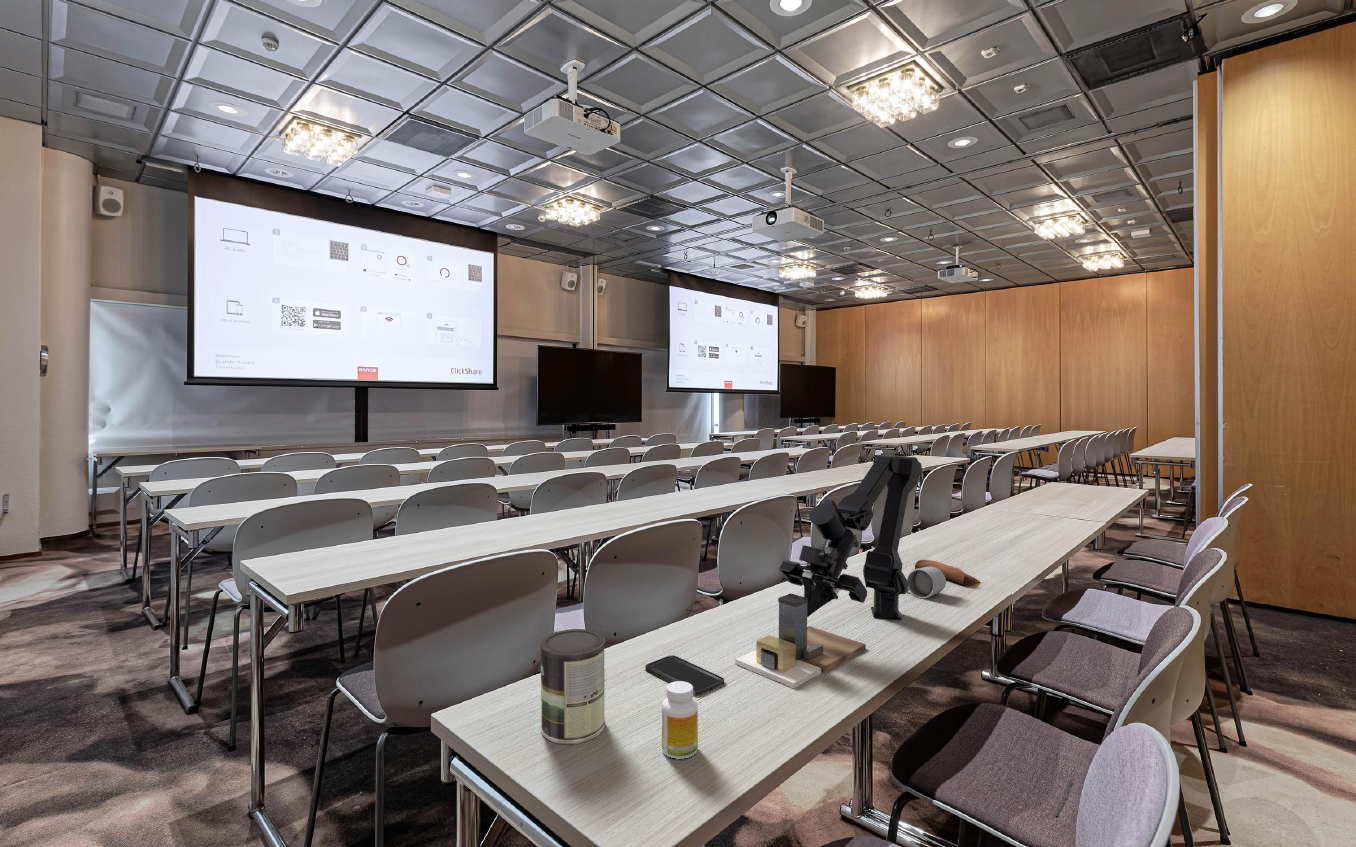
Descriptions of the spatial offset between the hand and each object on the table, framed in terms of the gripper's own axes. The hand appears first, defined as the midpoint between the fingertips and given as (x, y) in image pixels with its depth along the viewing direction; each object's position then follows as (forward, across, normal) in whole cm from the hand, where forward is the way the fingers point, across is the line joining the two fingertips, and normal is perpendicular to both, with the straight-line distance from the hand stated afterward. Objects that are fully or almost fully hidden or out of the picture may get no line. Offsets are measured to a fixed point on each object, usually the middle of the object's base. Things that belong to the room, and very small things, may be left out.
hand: (805, 615), depth 126 cm
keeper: (+13, 0, -1) cm, 13 cm away
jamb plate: (+12, 0, -1) cm, 12 cm away
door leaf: (+3, 0, +9) cm, 9 cm away
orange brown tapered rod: (-47, -3, +61) cm, 77 cm away
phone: (+24, -10, -11) cm, 28 cm away
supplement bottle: (+35, +7, -24) cm, 43 cm away
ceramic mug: (-33, -1, +46) cm, 56 cm away
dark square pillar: (+10, 0, 0) cm, 10 cm away
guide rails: (+7, 0, +5) cm, 8 cm away
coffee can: (+41, -10, -30) cm, 51 cm away
